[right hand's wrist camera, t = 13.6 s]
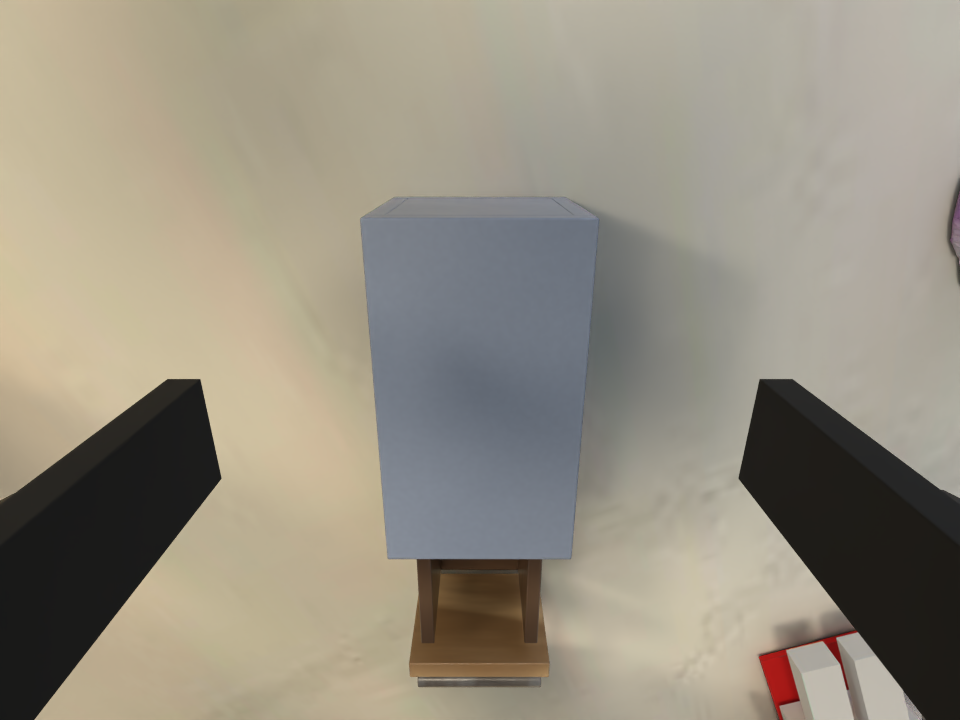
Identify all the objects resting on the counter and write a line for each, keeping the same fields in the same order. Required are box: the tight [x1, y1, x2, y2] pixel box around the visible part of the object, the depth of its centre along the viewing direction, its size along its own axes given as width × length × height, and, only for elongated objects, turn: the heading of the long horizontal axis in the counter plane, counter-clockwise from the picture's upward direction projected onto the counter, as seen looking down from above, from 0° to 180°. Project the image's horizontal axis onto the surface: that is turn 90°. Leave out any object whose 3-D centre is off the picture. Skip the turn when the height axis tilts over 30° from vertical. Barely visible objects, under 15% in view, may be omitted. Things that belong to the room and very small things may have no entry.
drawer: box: [409, 559, 550, 687], centre depth 35 cm, size 22×9×8 cm, turn 0°
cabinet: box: [360, 197, 599, 559], centre depth 30 cm, size 18×10×9 cm, turn 0°
